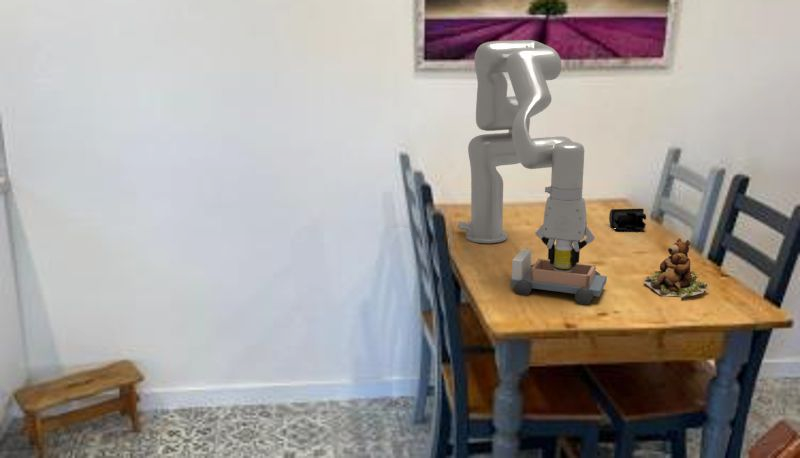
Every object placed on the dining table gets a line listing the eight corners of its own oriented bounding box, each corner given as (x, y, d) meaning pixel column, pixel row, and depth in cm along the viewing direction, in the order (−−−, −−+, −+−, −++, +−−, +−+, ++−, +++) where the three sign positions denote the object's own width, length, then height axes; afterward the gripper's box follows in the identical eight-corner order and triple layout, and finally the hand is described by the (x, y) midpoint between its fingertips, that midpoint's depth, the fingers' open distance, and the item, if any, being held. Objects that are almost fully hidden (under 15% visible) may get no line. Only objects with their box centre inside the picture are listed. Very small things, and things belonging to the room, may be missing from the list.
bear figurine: (632, 282, 201) (636, 238, 197) (681, 275, 205) (685, 231, 202) (666, 301, 188) (670, 253, 185) (716, 293, 193) (721, 246, 189)
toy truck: (508, 294, 193) (509, 262, 191) (522, 276, 206) (523, 246, 203) (597, 306, 185) (599, 273, 182) (607, 286, 197) (608, 255, 195)
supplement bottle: (572, 273, 191) (574, 241, 188) (553, 272, 191) (554, 240, 189) (572, 267, 195) (574, 235, 193) (553, 266, 196) (554, 234, 194)
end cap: (639, 226, 249) (640, 206, 247) (646, 232, 242) (647, 212, 240) (608, 227, 249) (609, 207, 247) (614, 233, 242) (616, 212, 240)
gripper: (528, 194, 188) (526, 264, 193) (599, 199, 181) (595, 272, 186) (535, 187, 194) (533, 255, 199) (604, 192, 188) (600, 263, 193)
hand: (563, 263), depth 193 cm, fingers closed on supplement bottle, 4 cm apart
